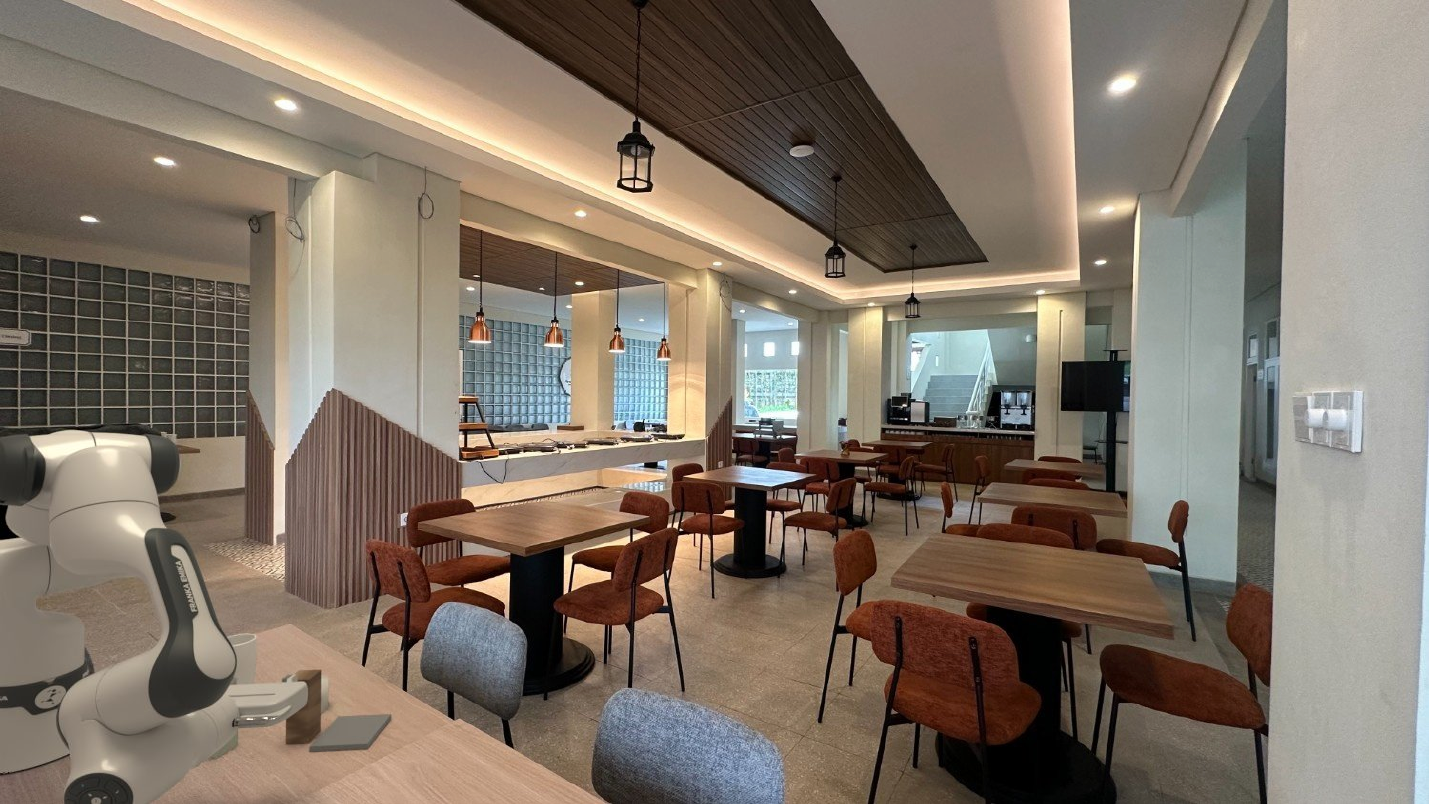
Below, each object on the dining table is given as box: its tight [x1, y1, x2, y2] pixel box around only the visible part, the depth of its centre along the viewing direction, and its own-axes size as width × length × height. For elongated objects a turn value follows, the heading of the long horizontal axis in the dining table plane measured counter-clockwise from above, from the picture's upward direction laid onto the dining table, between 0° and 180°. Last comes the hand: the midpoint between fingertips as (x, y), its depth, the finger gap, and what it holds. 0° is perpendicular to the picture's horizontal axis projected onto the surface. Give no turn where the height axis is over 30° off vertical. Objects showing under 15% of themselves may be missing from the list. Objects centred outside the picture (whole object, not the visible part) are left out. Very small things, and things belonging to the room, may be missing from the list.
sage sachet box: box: [208, 729, 239, 759], centre depth 106 cm, size 6×4×5 cm, turn 82°
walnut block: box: [285, 669, 322, 745], centre depth 110 cm, size 4×4×12 cm
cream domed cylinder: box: [321, 674, 330, 714], centre depth 119 cm, size 6×6×6 cm
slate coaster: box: [308, 713, 392, 753], centre depth 111 cm, size 10×10×1 cm
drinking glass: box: [227, 633, 258, 685], centre depth 118 cm, size 7×7×15 cm
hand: (263, 680), depth 98 cm, fingers open, 8 cm apart
